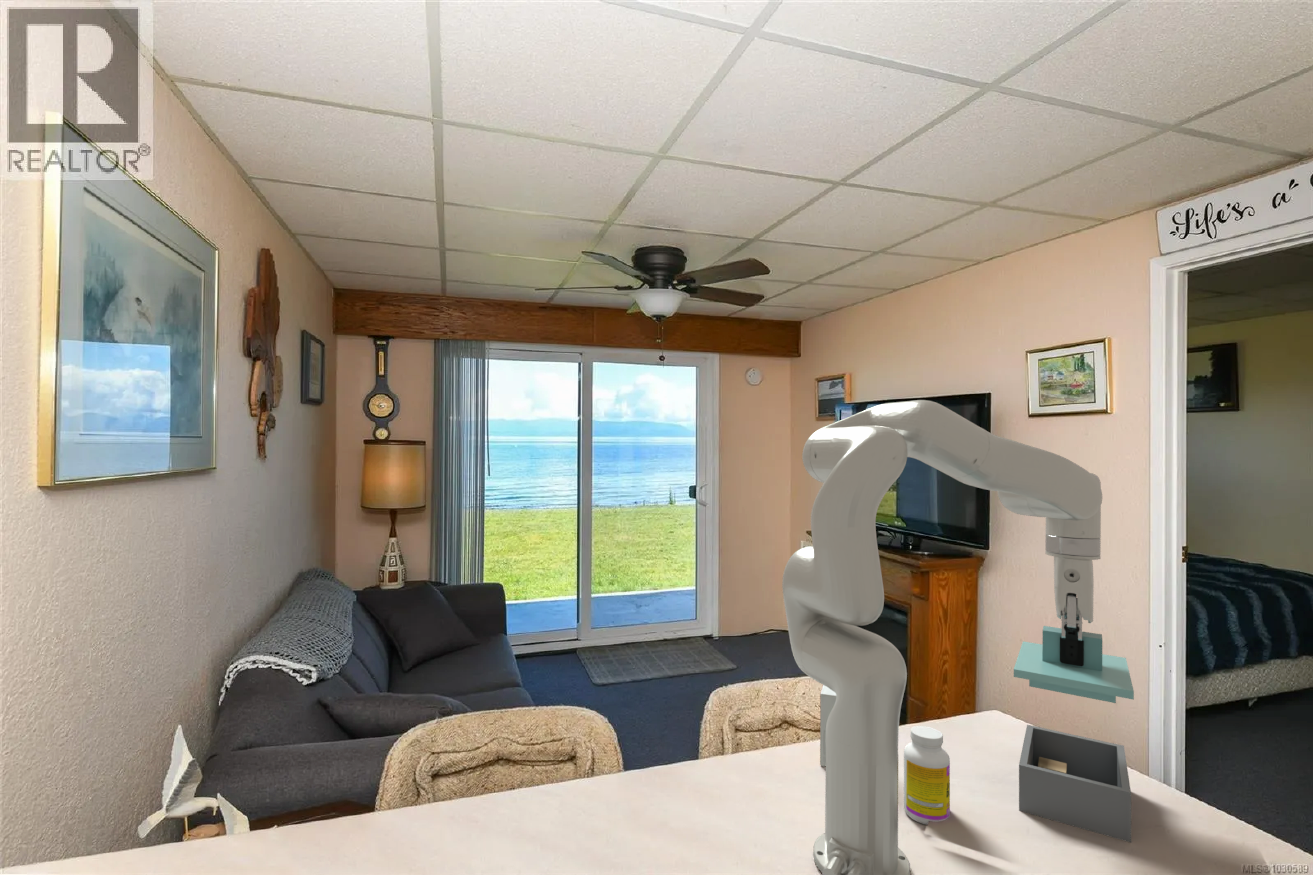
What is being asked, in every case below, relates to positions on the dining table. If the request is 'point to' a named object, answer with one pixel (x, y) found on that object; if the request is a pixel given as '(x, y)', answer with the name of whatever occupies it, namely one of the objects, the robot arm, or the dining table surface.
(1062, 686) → the lid
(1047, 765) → the pine block
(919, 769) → the supplement bottle
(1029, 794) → the tub
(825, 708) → the small box
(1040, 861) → the dining table surface
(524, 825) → the dining table surface
